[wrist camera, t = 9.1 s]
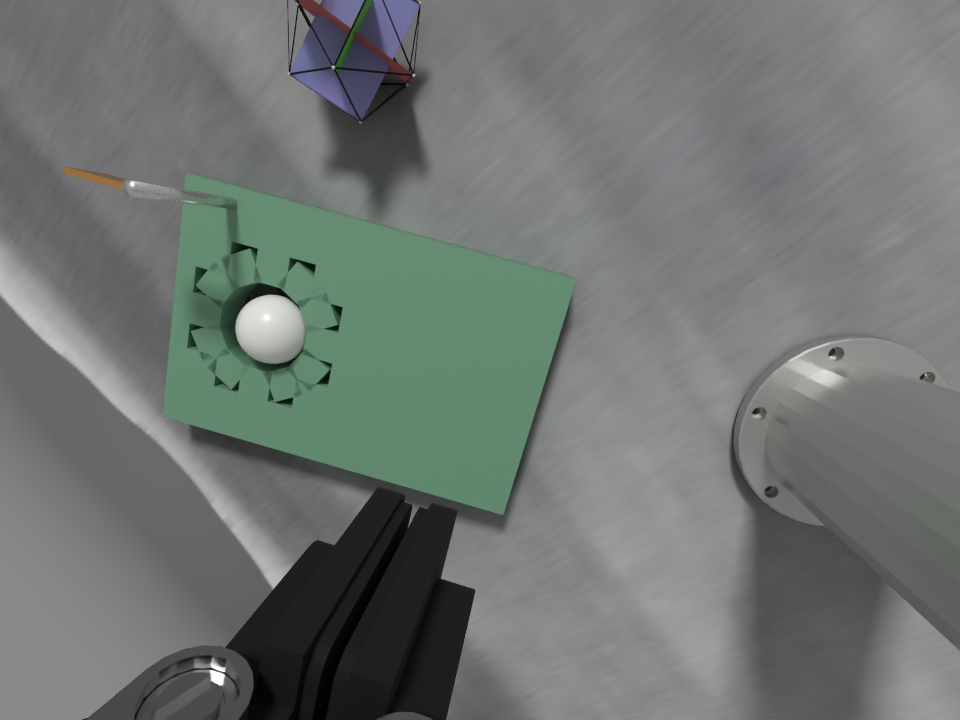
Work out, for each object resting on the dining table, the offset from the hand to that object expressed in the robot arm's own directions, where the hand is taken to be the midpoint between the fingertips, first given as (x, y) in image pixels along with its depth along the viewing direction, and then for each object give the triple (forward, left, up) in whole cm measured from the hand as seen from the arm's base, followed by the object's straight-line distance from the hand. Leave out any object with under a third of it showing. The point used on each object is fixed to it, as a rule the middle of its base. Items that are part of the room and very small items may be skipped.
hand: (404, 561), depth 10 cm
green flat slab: (+8, +2, -22) cm, 24 cm away
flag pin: (+18, -5, -22) cm, 29 cm away
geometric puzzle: (+11, -14, -23) cm, 29 cm away
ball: (+13, +2, -20) cm, 24 cm away
